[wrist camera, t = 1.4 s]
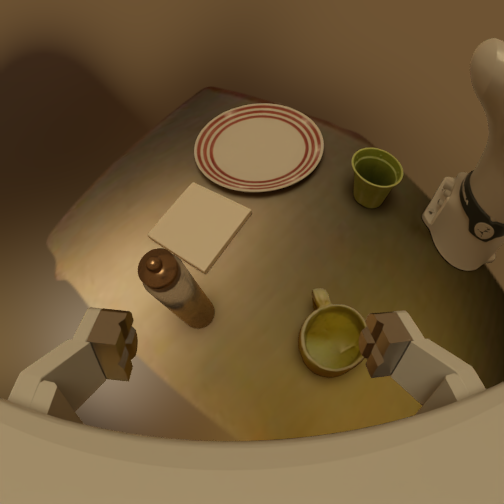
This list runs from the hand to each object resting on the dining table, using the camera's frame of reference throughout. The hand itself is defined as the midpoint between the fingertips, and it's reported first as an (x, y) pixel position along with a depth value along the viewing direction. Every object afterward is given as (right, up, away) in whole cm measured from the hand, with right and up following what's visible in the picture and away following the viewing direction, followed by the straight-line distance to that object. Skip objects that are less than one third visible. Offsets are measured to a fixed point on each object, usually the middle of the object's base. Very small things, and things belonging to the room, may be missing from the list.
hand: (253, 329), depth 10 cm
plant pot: (+22, +13, +44) cm, 51 cm away
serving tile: (-10, +7, +44) cm, 46 cm away
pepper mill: (-9, -7, +37) cm, 38 cm away
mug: (+11, -11, +33) cm, 37 cm away
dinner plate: (+2, +24, +52) cm, 58 cm away
